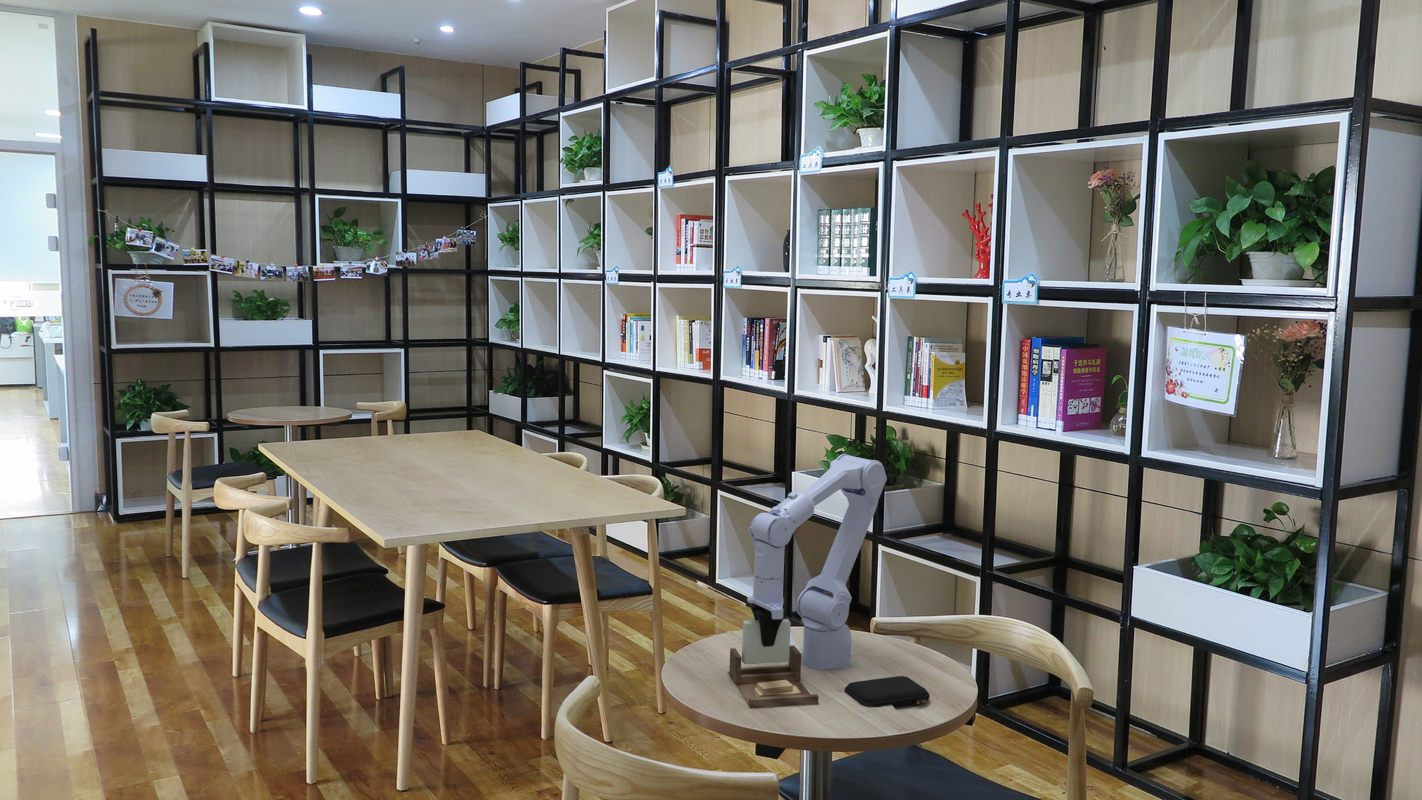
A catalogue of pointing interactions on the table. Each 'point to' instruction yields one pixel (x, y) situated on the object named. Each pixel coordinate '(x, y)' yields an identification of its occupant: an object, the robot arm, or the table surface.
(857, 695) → the carrying case or bag
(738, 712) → the table surface
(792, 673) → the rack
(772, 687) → the offcut stack
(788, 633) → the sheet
